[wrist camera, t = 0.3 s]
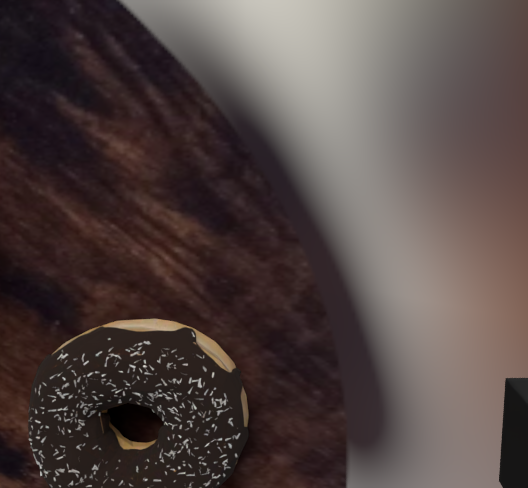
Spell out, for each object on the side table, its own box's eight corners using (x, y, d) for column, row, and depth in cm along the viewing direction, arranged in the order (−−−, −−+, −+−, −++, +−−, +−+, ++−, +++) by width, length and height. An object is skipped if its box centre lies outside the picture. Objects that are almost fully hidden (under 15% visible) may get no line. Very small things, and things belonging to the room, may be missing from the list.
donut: (12, 358, 28) (-35, 395, 24) (198, 272, 26) (180, 297, 22) (110, 514, 29) (81, 572, 26) (289, 444, 28) (288, 496, 24)
